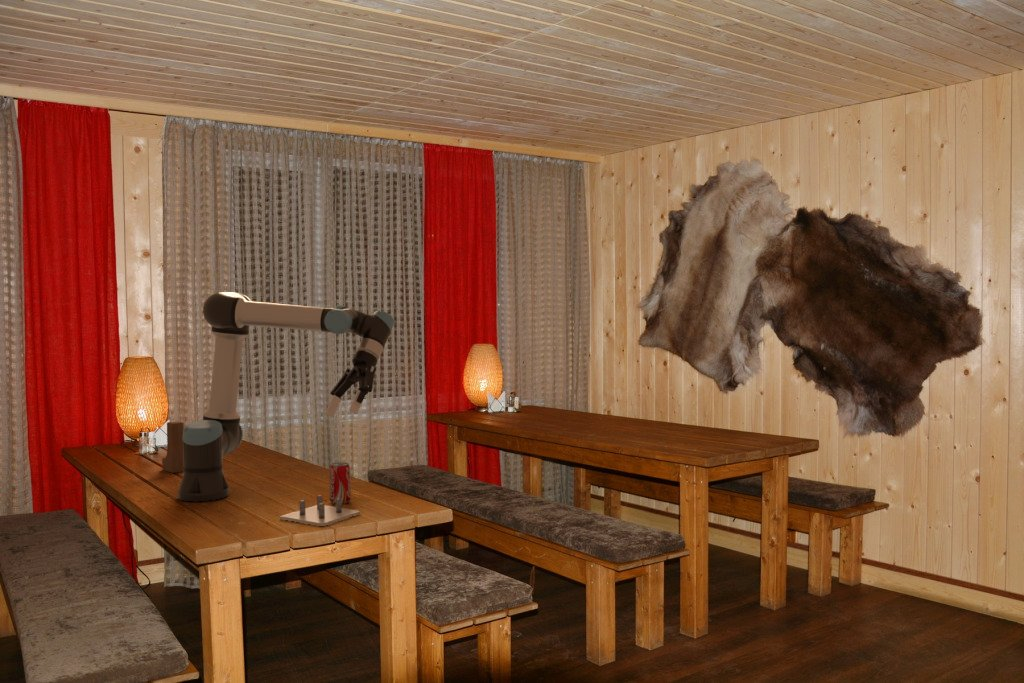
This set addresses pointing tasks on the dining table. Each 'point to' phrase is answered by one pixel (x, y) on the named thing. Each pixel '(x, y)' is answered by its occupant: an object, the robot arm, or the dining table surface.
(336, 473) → the soda can
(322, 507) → the standoff pins
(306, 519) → the base plate
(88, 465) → the dining table surface
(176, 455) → the wooden block
